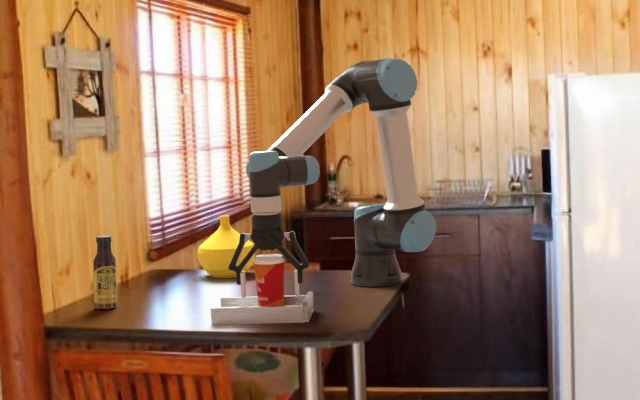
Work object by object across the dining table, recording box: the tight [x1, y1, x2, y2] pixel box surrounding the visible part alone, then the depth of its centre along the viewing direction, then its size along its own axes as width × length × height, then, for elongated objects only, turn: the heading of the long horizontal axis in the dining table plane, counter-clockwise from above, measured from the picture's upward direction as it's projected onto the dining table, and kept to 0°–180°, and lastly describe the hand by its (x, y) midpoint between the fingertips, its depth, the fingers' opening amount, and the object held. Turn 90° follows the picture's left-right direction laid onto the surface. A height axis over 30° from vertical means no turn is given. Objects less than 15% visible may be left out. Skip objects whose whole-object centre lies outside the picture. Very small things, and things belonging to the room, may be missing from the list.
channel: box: [210, 290, 315, 326], centre depth 237 cm, size 24×13×5 cm, turn 85°
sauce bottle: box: [92, 235, 118, 310], centre depth 257 cm, size 6×6×20 cm
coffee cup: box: [252, 253, 286, 306], centre depth 236 cm, size 8×8×15 cm
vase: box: [197, 214, 256, 279], centre depth 299 cm, size 18×18×19 cm
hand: (270, 296), depth 237 cm, fingers open, 13 cm apart
